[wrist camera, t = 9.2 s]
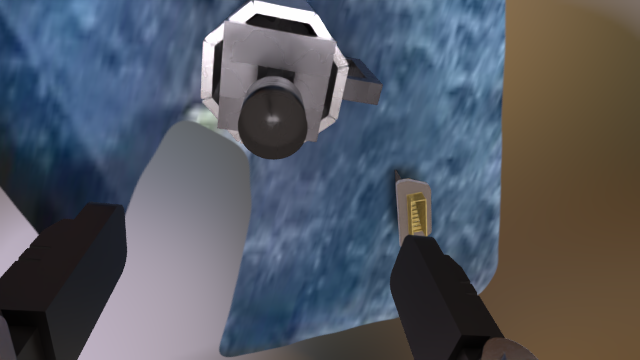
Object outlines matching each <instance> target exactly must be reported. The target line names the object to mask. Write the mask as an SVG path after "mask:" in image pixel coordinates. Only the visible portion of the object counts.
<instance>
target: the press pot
mask: <svg viewBox="0 0 640 360" xmlns="http://www.w3.org/2000/svg"><path fill="white" fill-rule="evenodd" d="M260 14H263V15H268V16H273V17H278V18H284V19H289V20H294V21H299V22H301V23H302V24H303V25H304V26H305V27H306V29H307V30H308V32H309V33H310V35H309V34H304V33H299V32H294V31H289V30H283V29H278V28H273V27H268V26H262V25H257V24H252V23H248V22H249V21H250V20H251V19H252V18H254V17H256V16H258V15H260ZM336 43H337V42H336V40H335V39H332V37H331V36H330V34H329V32H328V31H327V29H326V28H325V26H324V24H323V23H322V21H321V20H320V18H319V16H318V15H317V13H316V12H315V11H314V10H313V9H312V8H311V6H310V5H309V4H308V3H307V2H306V1H305V0H248V1H246V2H245V3H244V4H242V5H241V6H240V7H239V8H238V9H237V10H236V11H234V12H233V13H232V14H231V15H229V16H228V17H227V18H226V19H225V20H224V21H223V22H222V23H221V24H220V25H219V26H217V27H216V28H215V29H214V30H213V31H212V32H211V33H210V34H209V35H208V36H207V37H206V38H205V40H204V41H203V57H202V82H201V99H203V100H202V102H203V103H204V104H205V105H206V106H207V107H208V109H209V110H210V111H211V112H212V113H213V114H214V115H215V117H216V118H217V119H218V127H217V128H220V129H227V130H228V131H229V132H230V133H231V135H232V136H233V137H234V138H235V139H236V140H237V141H238V142H239V141H240V140H241V139H240V136H239V133H238V120H239V116H240V112H241V108H242V105H243V101H244V97H245V94H246V92H247V90H248V89H249V87H250V86H251V85H252V84H253V83H254V82H256V81H257V77H258V69H259V66H264V67H270V68H276V69H282V70H288V71H293V72H294V77H293V84H294V85H295V86H296V87H297V88H298V90H299V91H300V93H301V95H302V98H303V102H304V108H305V113H306V118H307V124H308V131H307V136H306V139H305V141H304V142H306V141H313V142H317V137H318V133H319V132H321V131H322V130H324V129H325V128H327V127H328V126H330V125H331V124H333V123H334V122H336V121H335V119H337V118H338V114H339V110H340V105H341V101H342V99H343V100H349V101H355V102H361V103H368V104H374V105H377V104H378V101H379V97H380V93H381V90H382V86H383V84H382V83H381V82H380V81H379V80H378V79H377V78H376V76H375V75H374V74H373V73H372V72H371V71H370V70H369V69H368V68H367V67H366V65H365V64H364V63H363V62H362V61H361V60H360V59H354V58H349V57H344V56H343V55H342V53H341V52H340V50H339V48H338V47H337V45H336ZM241 143H242V144H243V142H242V141H241Z"/></svg>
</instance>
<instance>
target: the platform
mask: <svg viewBox="0 0 640 360" xmlns="http://www.w3.org/2000/svg"><path fill="white" fill-rule="evenodd" d="M395 180H396V198H397V212H398V227H399V241H400V246H402V243H403V240H404V238H405V237H406V236H407V235H418V236H428V235H429V234H430V233H431V189H430V187H429V185H428V184H427V183H426V182H421V181H417V180H412V179H410V178H407V179H401V177H400V175H399V174H398V172H397V170H395ZM413 196H414V197H413ZM415 204H416V205H415ZM412 205H413V206H412ZM416 208H417V209H416ZM413 209H414V210H413ZM417 212H418V213H417ZM413 213H415V214H413ZM418 216H419V217H418ZM414 217H416V218H414ZM419 220H420V221H419ZM415 221H417V222H415ZM420 224H421V225H420ZM416 225H418V226H416ZM413 226H414V227H413Z"/></svg>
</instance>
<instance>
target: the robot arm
mask: <svg viewBox="0 0 640 360" xmlns="http://www.w3.org/2000/svg"><path fill="white" fill-rule="evenodd" d="M126 257H127V243H126V228H125V213H124V208H123V206H122V205H119V204H109V203H99V202H89V203H87V205H86V206H85V207H84V208H83V209H82V211H81V212H80V213H79V214H78V215H77V217H76V218H75V219H74V220H73V219H62V220H60V221H59V222H57V223H55V224H53V225H52V226H50V227H48V228H46V229H45V230H43V231H42V232H41V233H40V235H39V236H38V237H37V238H36V239H35V240H34V241H33V242H32V243H31V244H30V248H27V249H26V250H25V251H24V253H22V254H21V256H20V257H19V260H18V261H15V262H14V263H13V264H12V266H11V267H10V268H9V269H8V270H7V271H6V272H5V273H4V274H3V276H2V277H1V278H0V360H77V359H78V357H79V355H80V353H81V352H82V350H83V347H84V346H85V344H86V342H87V340H88V338H89V336H90V334H91V332H92V330H93V328H94V326H95V324H96V322H97V321H98V319H99V317H100V315H101V313H102V311H103V309H104V307H105V305H106V303H107V301H108V299H109V297H110V295H111V294H112V292H113V290H114V288H115V286H116V284H117V282H118V280H119V278H120V276H121V274H122V272H123V269H124V266H125V262H126ZM390 289H391V293H392V296H393V299H394V302H395V305H396V308H397V311H398V314H399V317H400V320H401V323H402V325H403V328H404V331H405V334H406V337H407V340H408V343H409V346H410V349H411V351H412V354H413V357H414V360H538V359H537V358H536V357H535V356H534V355H533V354H532V353H531V352H530V351H529V350H528V349H526V348H525V347H523V346H522V345H520V344H518V343H517V342H514V341H512V340H509V339H506V338H505V337H504V336H503V334H502V333H501V331H500V329H499V328H498V326H497V324H496V323H495V321H494V319H493V318H492V316H491V315H490V313H489V311H488V310H487V308H486V306H485V305H484V303H483V301H482V300H481V298H480V297H479V296H477V292H476V290H475V288H474V287H473V285H472V284H470V280H469V279H468V277H467V275H466V274H465V272H464V270H463V269H462V267H461V266H460V265H458V264H457V263H456V262H455V261H454V260H453V259H452V258H451V257H450V256H449V255H444V254H443V252H442V251H441V249H440V247H439V245H438V244H437V242H436V240H435V239H434V238H433V237H428V236H418V235H407V236H406V237H405V238H404V240H403V243H402V246H401V248H400V251H399V254H398V256H397V259H396V262H395V264H394V267H393V270H392V273H391V277H390Z"/></svg>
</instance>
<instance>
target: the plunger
mask: <svg viewBox="0 0 640 360" xmlns="http://www.w3.org/2000/svg"><path fill="white" fill-rule="evenodd" d="M248 23H252V24H257V25H262V26H268V27H273V28H278V29H283V30H289V31H294V32H299V33H304V34H309V35H310V33H309V32H308V30H307V29H306V27H305V26H304V25H303V24H302V23H301V22H299V21H294V20H289V19H284V18H278V17H273V16H268V15H263V14H260V15H258V16H256V17H254V18H252V19H251V20H250V21H249V22H248ZM293 77H294V72H293V71H288V70H282V69H276V68H270V67H264V66H259V69H258V77H257V81H256V82H254V83H253V84H252V85H251V86H250V87H249V89H248V90H247V92H246V94H245V97H244V101H243V105H242V108H241V112H240V116H239V120H238V133H239V136H240V139H241V141H242V142H243V144H244V145H245V147H246V148H247V149H248V150H249V151H251V152H252V153H253V154H255V155H257V156H259V157H262V158H265V159H282V158H285V157H288V156H290V155H292V154H294V153H295V152H296V151H297V150H298V149H299V148H300V147H301V146H302V145H303V143H304V141H305V139H306V136H307V131H308V124H307V118H306V113H305V108H304V102H303V98H302V95H301V93H300V91H299V90H298V88H297V87H296V86H295V85H294V84H293Z"/></svg>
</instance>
